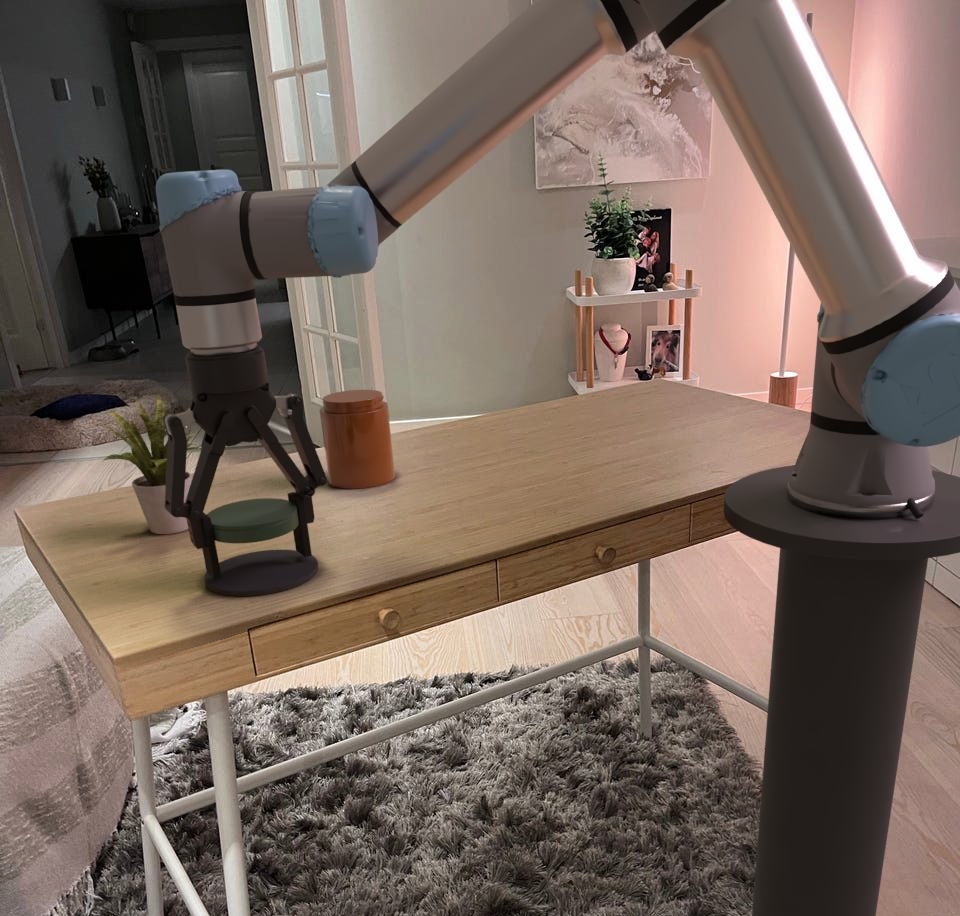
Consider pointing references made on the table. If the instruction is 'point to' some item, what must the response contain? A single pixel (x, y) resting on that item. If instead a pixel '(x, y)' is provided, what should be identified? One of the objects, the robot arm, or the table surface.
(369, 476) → the jar
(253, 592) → the coaster
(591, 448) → the table surface
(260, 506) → the jar lid
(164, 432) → the house plant
